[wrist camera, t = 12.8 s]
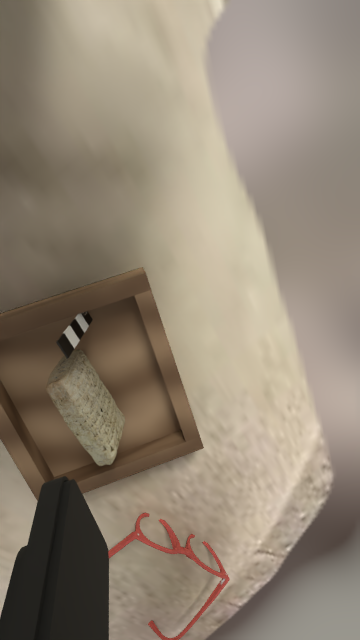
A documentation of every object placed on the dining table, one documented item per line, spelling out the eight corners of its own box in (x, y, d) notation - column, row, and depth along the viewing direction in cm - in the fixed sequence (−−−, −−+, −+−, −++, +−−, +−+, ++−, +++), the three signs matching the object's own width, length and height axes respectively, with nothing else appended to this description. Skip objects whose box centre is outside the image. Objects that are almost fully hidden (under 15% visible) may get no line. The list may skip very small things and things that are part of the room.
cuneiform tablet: (84, 306, 30) (146, 407, 34) (42, 326, 31) (108, 423, 35) (57, 341, 23) (138, 461, 28) (4, 365, 24) (91, 479, 28)
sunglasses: (230, 544, 45) (244, 583, 40) (155, 623, 47) (159, 669, 42) (125, 492, 39) (127, 530, 34) (44, 584, 41) (35, 632, 36)
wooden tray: (-41, 327, 30) (-59, 340, 27) (142, 267, 31) (145, 273, 28) (48, 484, 36) (42, 508, 33) (196, 429, 38) (203, 448, 35)
